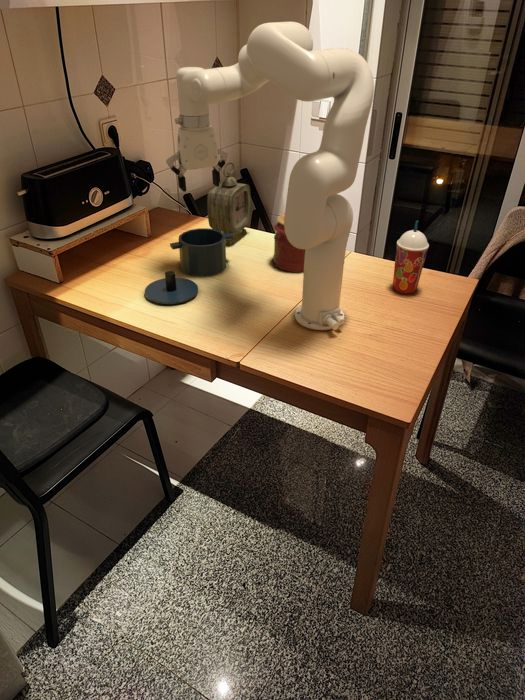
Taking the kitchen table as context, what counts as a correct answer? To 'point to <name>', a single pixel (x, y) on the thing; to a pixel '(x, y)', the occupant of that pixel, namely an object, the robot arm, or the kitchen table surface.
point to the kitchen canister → (286, 250)
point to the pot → (202, 251)
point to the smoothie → (409, 260)
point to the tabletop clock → (229, 205)
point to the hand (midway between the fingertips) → (199, 187)
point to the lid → (171, 289)
